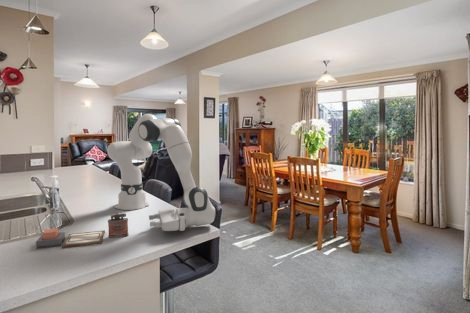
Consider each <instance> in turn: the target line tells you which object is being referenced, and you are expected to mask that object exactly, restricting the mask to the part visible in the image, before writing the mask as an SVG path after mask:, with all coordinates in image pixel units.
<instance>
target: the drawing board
mask: <svg viewBox="0 0 470 313" xmlns="http://www.w3.org/2000/svg"><path fill="white" fill-rule="evenodd" d="M105 233H106V230H98V231H87V232H76V233H69V234H68V235H67V236H66V237H65V240H64V241H63V243H62V244H61V249H70V248H77V247H78V248H79V247H87V246H95V245H102V244H103V241H104V236H105V235H106V234H105Z"/></svg>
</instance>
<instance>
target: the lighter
mask: <svg viewBox="0 0 470 313" xmlns="http://www.w3.org/2000/svg"><path fill="white" fill-rule="evenodd" d="M128 221H129V218H128V217H127V213H125V212H124V213H117V212H116V213H115V214H110V218H109V219H107V223H108V226H107V227H108V239H120V238H121V239H122V238H127V237H128V236H129V225H128V224H129V223H128Z"/></svg>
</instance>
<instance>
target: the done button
mask: <svg viewBox="0 0 470 313" xmlns="http://www.w3.org/2000/svg"><path fill="white" fill-rule="evenodd" d="M59 232H60V231H59V227H58V228H47V229H45V230H44V231H42V234H43V239H53V238H57V237H58V236H59Z"/></svg>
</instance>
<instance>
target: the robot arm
mask: <svg viewBox="0 0 470 313" xmlns="http://www.w3.org/2000/svg"><path fill="white" fill-rule="evenodd" d="M157 141H163V143H164V145H165V149H166V151H167V154H168V156H169V158H170V160H171V162H172V165H174V168H175V171H176V172H177V175H178V177H179V180H180V183H181V186H182V188H183V190H182V191H183V197H182V198H183V203H184V205H185V207H177V208H176V209H172V208H171V209H170V208H169V209H168V208H167V209H160V210H158V213H154V214H150V215H148V219H149V220H150V222H149V227H151V228H152V227H154V228H161V231H164V232H175V231H180V232H183V231H185V230H186V228H189V227H192V226H195V227H200V226H206V225H210V224H213V222H214V221H215V218H216V213H217V212H216V208H215V206H213V204H212V201H210V198H209V194H208V192H207V191H206V189H205V187H204V188H203V187H202V186H197V185H196V183H195V180H194V177H193V175H192V170H191V165H192V160H193V152H192V148H191V145H190V142H189V139H188V137H187V135H186V133H185V132H184V130H183V128H182V125H181V123H180V120H178V119H177V118H174V117H159V118H157V116H155V115H154V114H152V113H145V114H143V115H142V116H140V117H139V118H138V120H137V121H136V122H135V123H134V125H133V127H132V129H131V130H130V131H129V133H128V140H120V141H114V142H110V144H109V145H108V146H107V150H106V151H107V156H108V158H110V159H111V160H112V161H113V162H115V163H116V165H117V166H118V167H119V170H120V177H121V184H120V190H121V191H120V192H119V193H118V196H117V197H118V203H117V204H116V205H115V206H114V207H115V209H118V210H123V211H124V210H125V211H133V210H134V211H135V210H140V209H143V208H146V207H149V206H150V203H149V202H148V201H147V199H146V192H145V190H143V187H144V186H143V181H142V179H143V178H142V176H143V175H142V170H141V168H140V167H138V166H137V165H134V164H133V161H134V160H143V159H146V158H150V157H151V155H153V145H152V144H151V143H150V142H152V143H153V142H157ZM156 219H157V220H159V221H151V220H156Z"/></svg>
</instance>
